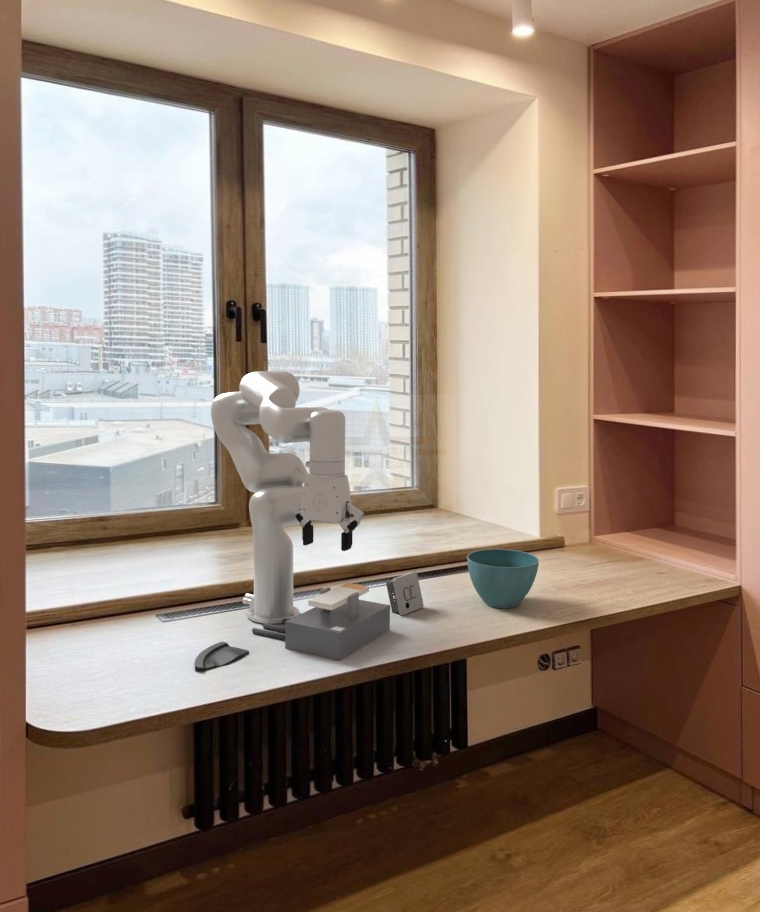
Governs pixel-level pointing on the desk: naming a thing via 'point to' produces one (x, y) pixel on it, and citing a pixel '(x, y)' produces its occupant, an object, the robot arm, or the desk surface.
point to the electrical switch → (405, 593)
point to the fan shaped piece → (218, 656)
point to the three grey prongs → (272, 627)
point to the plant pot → (502, 575)
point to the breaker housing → (337, 628)
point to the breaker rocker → (337, 596)
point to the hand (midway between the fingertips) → (327, 546)
